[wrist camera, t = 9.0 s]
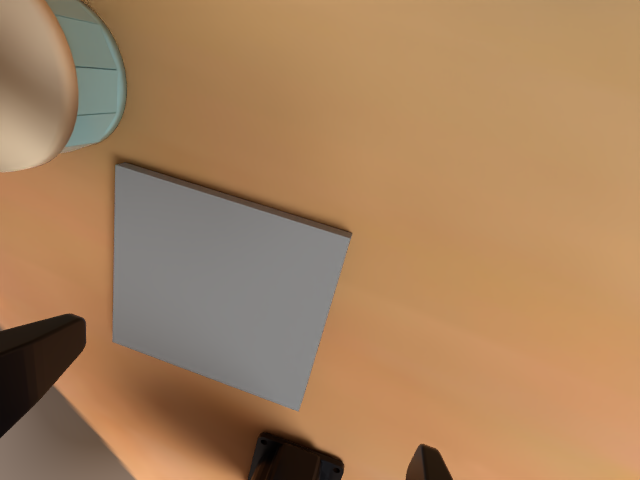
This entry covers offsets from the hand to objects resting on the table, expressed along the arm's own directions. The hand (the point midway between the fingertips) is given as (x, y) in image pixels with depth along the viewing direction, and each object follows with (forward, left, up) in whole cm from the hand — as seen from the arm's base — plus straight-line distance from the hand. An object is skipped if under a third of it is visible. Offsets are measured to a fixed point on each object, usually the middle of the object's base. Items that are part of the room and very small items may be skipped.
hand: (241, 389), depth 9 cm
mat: (-7, +6, -12) cm, 15 cm away
